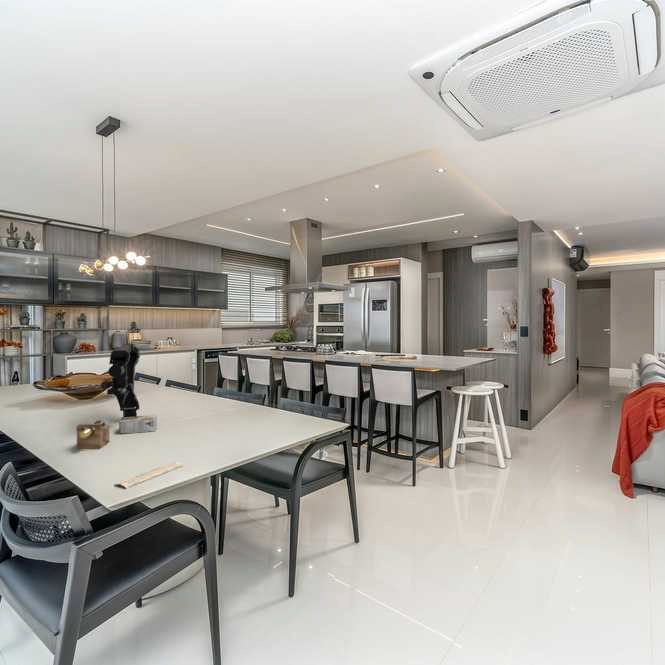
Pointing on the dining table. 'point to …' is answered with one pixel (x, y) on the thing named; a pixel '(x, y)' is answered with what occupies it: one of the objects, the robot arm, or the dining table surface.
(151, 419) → the coffee box
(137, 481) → the beige curved strip
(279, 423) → the dining table surface
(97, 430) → the mount
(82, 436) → the lock pin
